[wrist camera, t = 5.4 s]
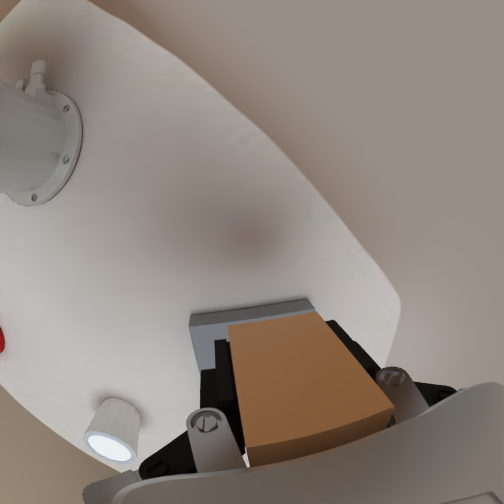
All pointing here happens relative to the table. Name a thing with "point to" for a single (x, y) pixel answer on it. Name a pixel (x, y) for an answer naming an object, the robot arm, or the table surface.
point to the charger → (301, 389)
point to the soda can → (1, 342)
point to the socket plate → (216, 324)
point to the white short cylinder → (114, 431)
